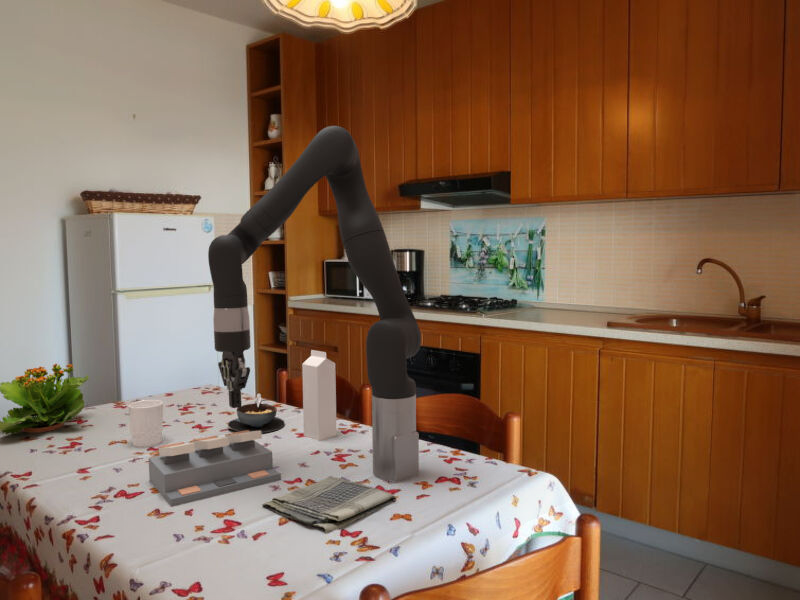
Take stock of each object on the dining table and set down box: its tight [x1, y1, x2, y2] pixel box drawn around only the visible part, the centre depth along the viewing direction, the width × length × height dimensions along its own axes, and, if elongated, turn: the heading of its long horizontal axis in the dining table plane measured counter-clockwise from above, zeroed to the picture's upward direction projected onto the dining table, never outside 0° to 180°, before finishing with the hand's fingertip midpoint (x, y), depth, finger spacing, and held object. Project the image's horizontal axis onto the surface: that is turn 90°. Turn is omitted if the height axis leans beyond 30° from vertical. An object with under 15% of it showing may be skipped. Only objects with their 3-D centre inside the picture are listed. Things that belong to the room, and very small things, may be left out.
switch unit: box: [148, 440, 282, 507], centre depth 126 cm, size 16×22×6 cm
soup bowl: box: [227, 393, 285, 434], centre depth 165 cm, size 15×16×7 cm
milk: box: [301, 349, 337, 441], centre depth 156 cm, size 6×6×22 cm
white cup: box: [128, 399, 164, 448], centre depth 152 cm, size 8×8×10 cm
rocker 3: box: [224, 430, 263, 443], centre depth 132 cm, size 10×4×2 cm, turn 36°
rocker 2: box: [192, 435, 230, 449], centre depth 128 cm, size 10×4×2 cm, turn 36°
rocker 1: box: [158, 441, 195, 456], centre depth 124 cm, size 10×4×2 cm, turn 36°
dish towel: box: [262, 475, 397, 535], centre depth 114 cm, size 19×18×3 cm
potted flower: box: [0, 363, 90, 435], centre depth 166 cm, size 25×24×18 cm
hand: (235, 406), depth 134 cm, fingers closed
